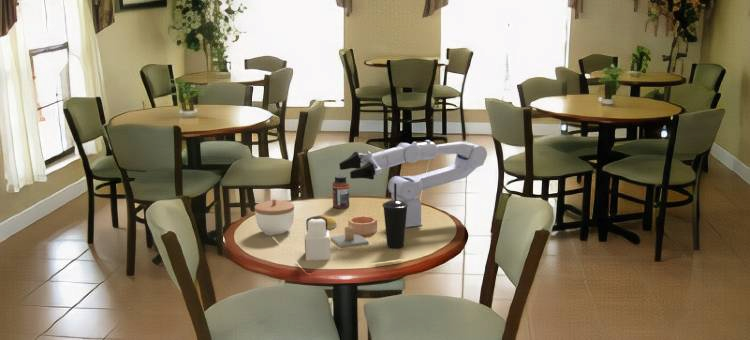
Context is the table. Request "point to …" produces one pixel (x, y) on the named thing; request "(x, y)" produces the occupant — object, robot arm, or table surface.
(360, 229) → the bowl
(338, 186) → the supplement bottle
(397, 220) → the drinking cup
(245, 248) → the table surface
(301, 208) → the table surface
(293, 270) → the table surface
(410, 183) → the robot arm
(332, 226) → the bread roll
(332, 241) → the mat
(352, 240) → the lid
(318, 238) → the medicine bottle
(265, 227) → the lidded bowl
